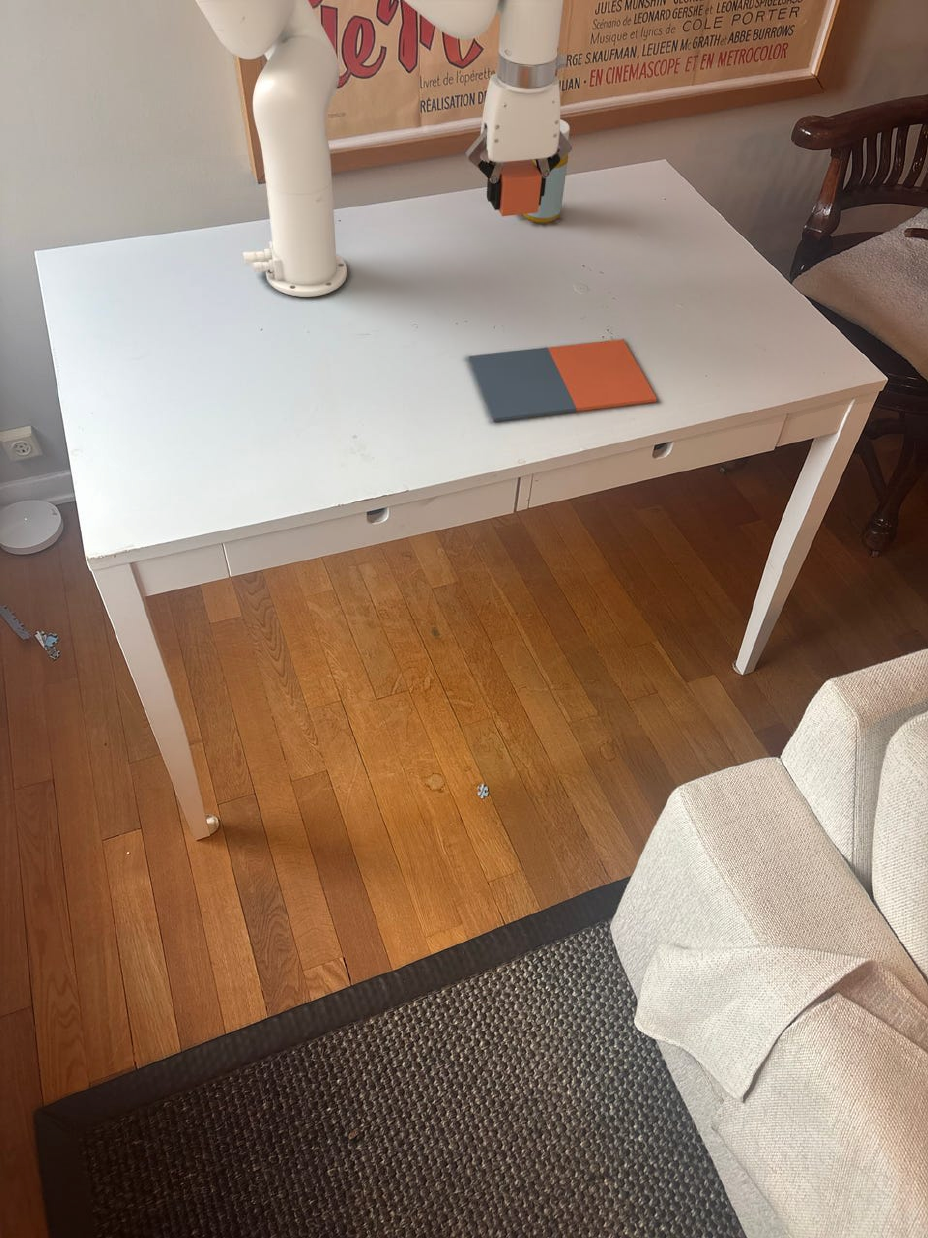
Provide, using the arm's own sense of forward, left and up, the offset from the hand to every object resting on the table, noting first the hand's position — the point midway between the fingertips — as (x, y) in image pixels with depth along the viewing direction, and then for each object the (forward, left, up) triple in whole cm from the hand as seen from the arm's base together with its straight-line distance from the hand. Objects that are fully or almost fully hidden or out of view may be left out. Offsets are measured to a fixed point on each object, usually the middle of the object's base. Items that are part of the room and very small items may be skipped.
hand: (514, 201), depth 138 cm
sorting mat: (+3, -21, -16) cm, 26 cm away
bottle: (+13, +23, -16) cm, 31 cm away
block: (0, 0, 0) cm, 0 cm away
